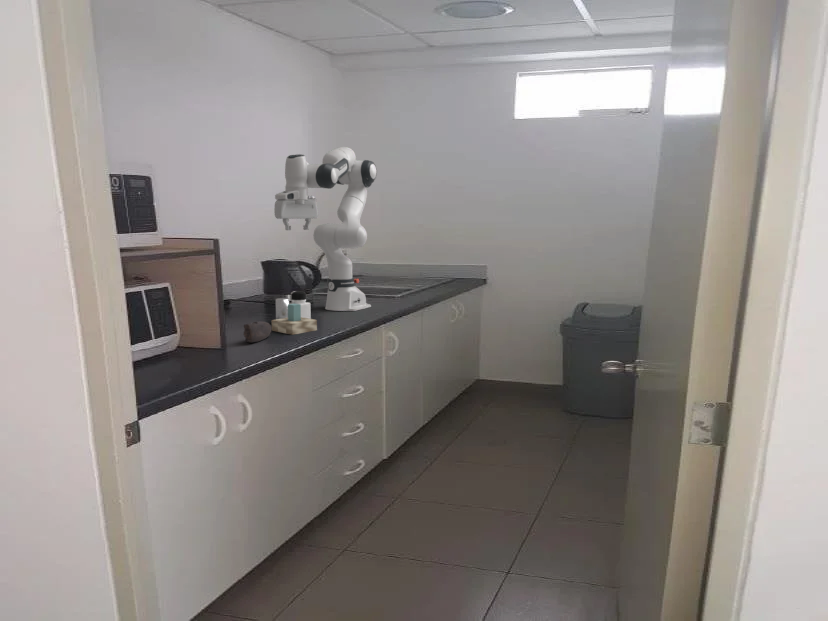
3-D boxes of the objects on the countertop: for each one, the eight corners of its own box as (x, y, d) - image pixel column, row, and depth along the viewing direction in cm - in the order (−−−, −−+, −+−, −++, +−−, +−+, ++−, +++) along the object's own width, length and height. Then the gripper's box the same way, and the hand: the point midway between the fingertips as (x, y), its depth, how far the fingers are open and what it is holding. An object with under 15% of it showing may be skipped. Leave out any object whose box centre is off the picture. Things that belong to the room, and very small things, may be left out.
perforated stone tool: (264, 336, 230) (264, 317, 229) (277, 337, 228) (276, 318, 227) (239, 344, 216) (238, 324, 215) (252, 345, 214) (251, 325, 213)
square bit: (295, 329, 243) (294, 303, 242) (300, 330, 241) (300, 304, 239) (288, 330, 241) (287, 304, 239) (294, 331, 238) (293, 305, 237)
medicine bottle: (311, 319, 264) (310, 291, 262) (299, 322, 258) (299, 293, 256) (298, 317, 268) (297, 289, 266) (286, 320, 262) (285, 291, 260)
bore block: (296, 326, 249) (296, 316, 248) (316, 330, 242) (316, 319, 241) (271, 330, 240) (271, 320, 239) (292, 334, 232) (292, 324, 232)
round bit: (284, 322, 258) (283, 297, 256) (292, 323, 254) (292, 299, 253) (273, 323, 254) (272, 299, 252) (282, 325, 250) (281, 300, 249)
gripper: (310, 196, 265) (311, 229, 267) (271, 194, 249) (272, 230, 251) (321, 196, 261) (321, 229, 263) (281, 194, 245) (282, 230, 247)
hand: (297, 230), depth 257 cm, fingers open, 8 cm apart
